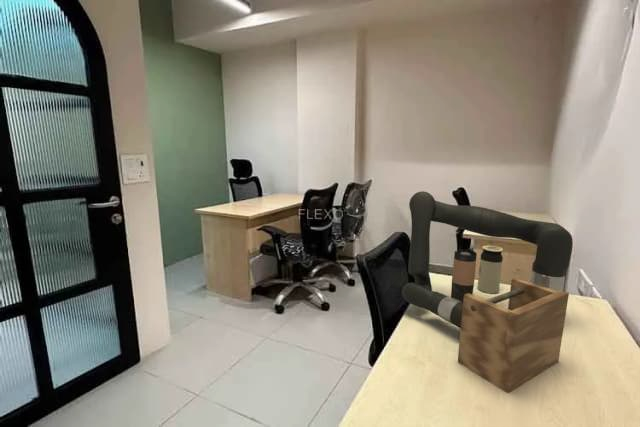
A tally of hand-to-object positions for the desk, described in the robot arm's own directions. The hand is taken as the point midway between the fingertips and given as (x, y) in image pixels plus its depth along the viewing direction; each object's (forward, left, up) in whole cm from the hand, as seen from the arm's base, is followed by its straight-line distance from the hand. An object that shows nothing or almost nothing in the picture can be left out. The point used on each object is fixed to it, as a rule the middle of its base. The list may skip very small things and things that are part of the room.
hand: (510, 338), depth 92 cm
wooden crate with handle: (0, -1, -7) cm, 7 cm away
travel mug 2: (-35, -39, -7) cm, 53 cm away
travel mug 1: (-15, -33, -7) cm, 37 cm away
